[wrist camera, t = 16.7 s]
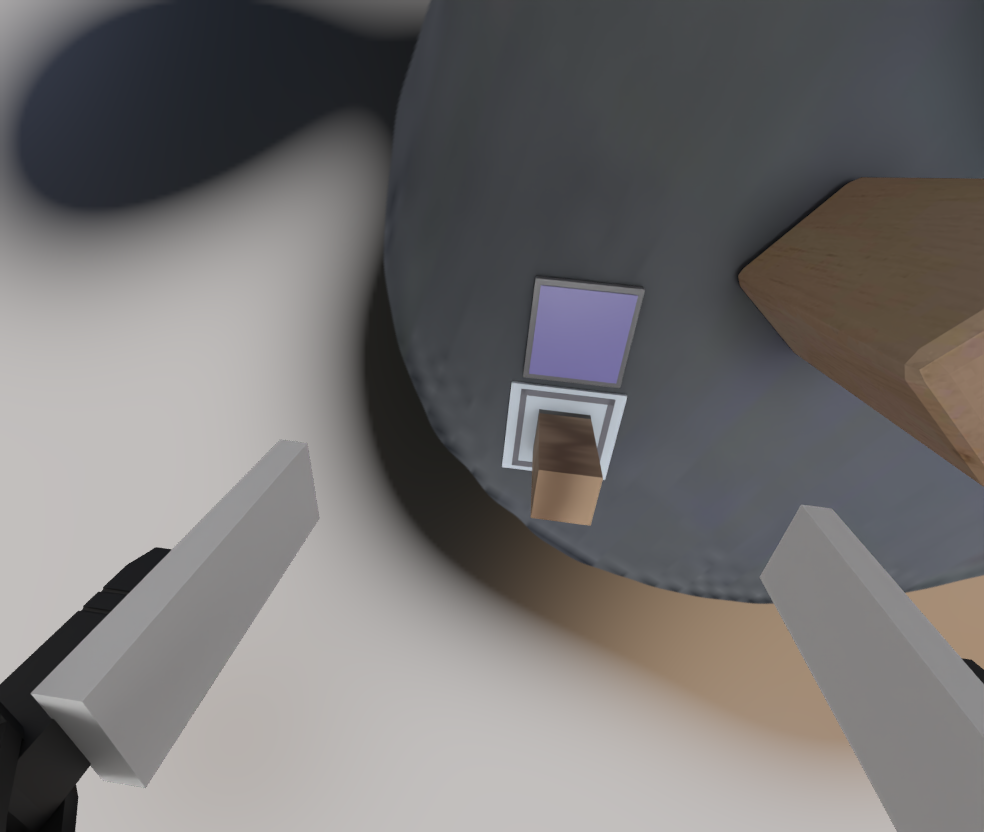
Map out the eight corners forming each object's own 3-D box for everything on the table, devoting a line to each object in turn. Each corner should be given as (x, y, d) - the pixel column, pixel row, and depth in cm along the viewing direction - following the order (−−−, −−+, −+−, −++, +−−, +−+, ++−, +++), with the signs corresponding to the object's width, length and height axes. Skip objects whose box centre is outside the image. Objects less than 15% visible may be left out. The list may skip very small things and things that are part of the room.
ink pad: (642, 286, 36) (645, 290, 35) (618, 383, 41) (620, 389, 40) (535, 275, 37) (535, 278, 36) (523, 372, 41) (522, 377, 40)
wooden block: (794, 356, 38) (1010, 511, 20) (728, 274, 35) (911, 373, 18) (919, 270, 34) (1325, 374, 16) (854, 170, 31) (1256, 166, 13)
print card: (626, 394, 41) (627, 396, 41) (604, 477, 46) (605, 480, 46) (511, 380, 42) (511, 383, 41) (502, 464, 46) (501, 467, 46)
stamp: (590, 415, 42) (603, 477, 33) (580, 457, 45) (590, 525, 36) (539, 409, 42) (538, 469, 34) (532, 451, 45) (530, 517, 36)
